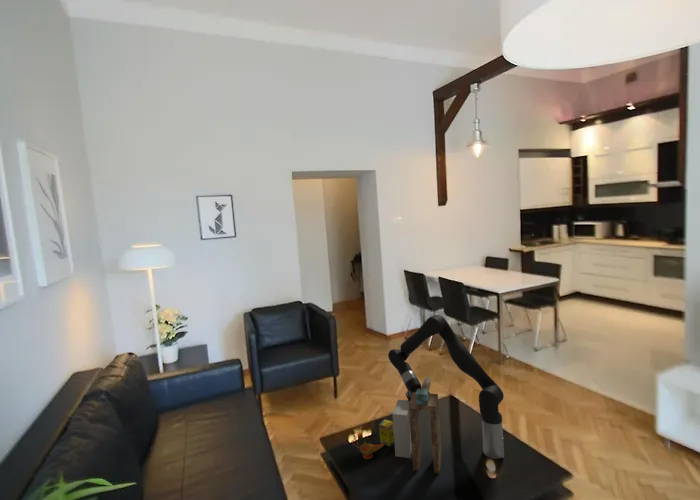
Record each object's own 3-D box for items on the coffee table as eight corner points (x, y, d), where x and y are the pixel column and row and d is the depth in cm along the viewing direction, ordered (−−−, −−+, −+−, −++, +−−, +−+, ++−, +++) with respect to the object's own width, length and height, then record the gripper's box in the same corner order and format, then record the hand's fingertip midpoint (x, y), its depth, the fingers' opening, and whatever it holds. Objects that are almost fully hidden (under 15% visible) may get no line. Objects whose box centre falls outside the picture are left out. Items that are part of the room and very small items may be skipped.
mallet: (432, 383, 190) (432, 374, 189) (427, 405, 169) (426, 394, 169) (422, 383, 191) (422, 373, 191) (416, 404, 171) (415, 393, 170)
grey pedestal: (414, 440, 196) (411, 400, 194) (409, 458, 183) (406, 415, 181) (400, 439, 199) (398, 399, 197) (395, 456, 185) (392, 413, 183)
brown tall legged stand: (441, 457, 182) (437, 393, 179) (439, 473, 170) (435, 406, 168) (416, 453, 185) (412, 392, 183) (413, 469, 174) (408, 404, 171)
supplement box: (389, 447, 192) (388, 427, 191) (380, 444, 196) (378, 424, 195) (395, 441, 197) (394, 421, 196) (386, 438, 200) (384, 418, 199)
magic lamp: (388, 460, 182) (387, 438, 181) (352, 460, 185) (350, 438, 184) (389, 451, 189) (387, 430, 188) (353, 451, 191) (352, 430, 190)
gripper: (404, 378, 194) (419, 406, 183) (424, 376, 201) (440, 403, 190) (397, 386, 197) (411, 415, 186) (417, 384, 205) (432, 411, 194)
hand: (426, 409), depth 188 cm, fingers open, 8 cm apart
